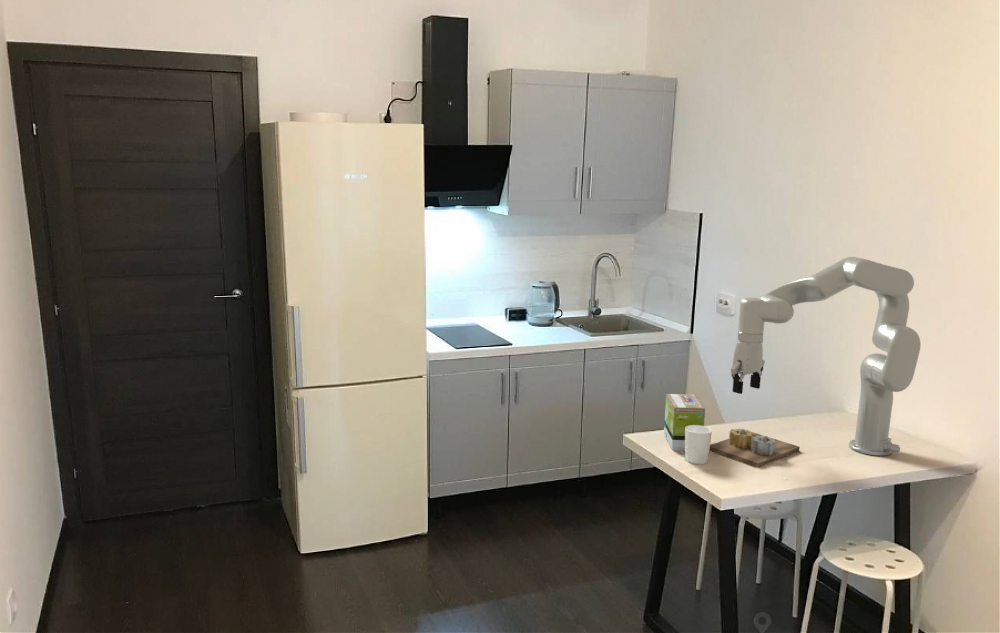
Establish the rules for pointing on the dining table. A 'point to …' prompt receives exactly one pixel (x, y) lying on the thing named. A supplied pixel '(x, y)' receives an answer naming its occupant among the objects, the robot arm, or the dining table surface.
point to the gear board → (748, 456)
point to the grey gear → (763, 446)
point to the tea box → (681, 417)
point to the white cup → (697, 443)
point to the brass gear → (740, 438)
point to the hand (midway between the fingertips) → (746, 390)
